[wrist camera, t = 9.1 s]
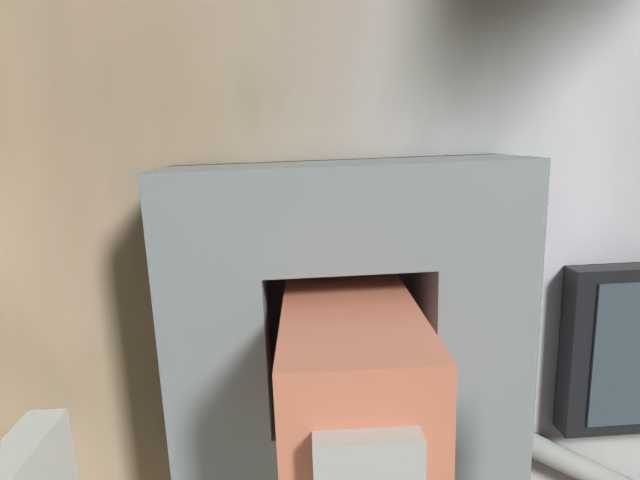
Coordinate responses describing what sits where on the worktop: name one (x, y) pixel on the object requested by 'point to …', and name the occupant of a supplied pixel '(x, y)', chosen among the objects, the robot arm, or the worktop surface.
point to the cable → (570, 461)
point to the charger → (361, 384)
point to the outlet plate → (343, 260)
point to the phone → (599, 351)
